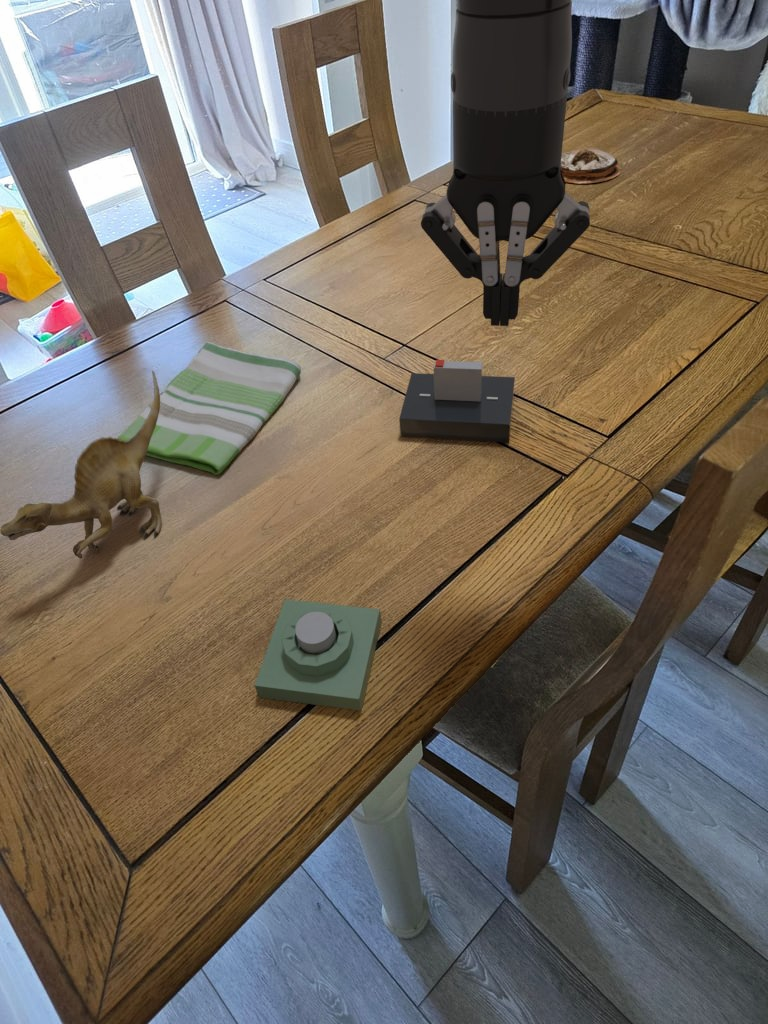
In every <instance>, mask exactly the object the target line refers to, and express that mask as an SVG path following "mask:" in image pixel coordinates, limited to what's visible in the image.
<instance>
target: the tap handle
mask: <svg viewBox="0 0 768 1024" xmlns="http://www.w3.org/2000/svg"><path fill="white" fill-rule="evenodd" d="M483 364H484V363H483V362H482V361H463V360H462V361H461V360H459V361H458V360H445V359H436V360H435V361H434V364H433V374H434V393H435V400H455V401H478V402H481V397H482V376H483V367H484V365H483Z"/></svg>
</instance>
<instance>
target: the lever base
mask: <svg viewBox="0 0 768 1024" xmlns="http://www.w3.org/2000/svg"><path fill="white" fill-rule="evenodd" d="M515 380H516V377H515V376H497V375H496V376H494V375H492V376H491V375H482V397H481V402H478V401H455V400H435V393H434V373H422V372H421V373H417V372H411V374H410V377H409V381H408V384H407V389H406V392H405V395H404V399H403V403H402V407H401V410H400V415H399V418H398V419H399V421H398V422H399V431H400V437H403V438H416V439H417V438H419V439H435V440H436V439H437V440H452V441H453V440H454V441H455V440H456V441H468V442H469V441H470V442H472V441H473V442H487V443H503V444H504V443H507V444H508V443H510V438H511V436H510V435H511V428H512V427H511V426H512V417H513V407H514V398H515V397H514V395H515V382H516V381H515Z"/></svg>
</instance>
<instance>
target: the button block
mask: <svg viewBox="0 0 768 1024" xmlns="http://www.w3.org/2000/svg"><path fill="white" fill-rule="evenodd" d="M311 612H323V613H325V614H327V615H328V616H330V618H331V619H332V621H333V624H334V628H335V632H336V639H335V642H334V644H333V645H332V647H331V648H330V649H328V650H327V651H325V652H323V653H320V654H310V653H307V652H305V651H304V650H303V649H302V648H301V647H300V646H299V643H298V640H297V636H296V633H295V627H296V624H297V622H298V621H299V619H300V618H301V617H302V616H304V615H306V614H308V613H311ZM382 623H383V620H382V614H381V609H379V608H371V607H361V606H352V605H342V604H333V603H326V602H325V603H324V602H316V601H315V602H314V601H304V600H295V599H286V598H285V599H284V600H283V602H282V606H281V608H280V611H279V614H278V617H277V620H276V622H275V625H274V628H273V631H272V634H271V637H270V639H269V642H268V645H267V648H266V651H265V654H264V657H263V660H262V662H261V665H260V668H259V671H258V674H257V676H256V679H255V682H254V688H255V690H256V693H257V695H258V697H259V698H261V699H269V700H276V701H284V702H285V701H286V702H293V703H299V704H305V705H312V706H313V705H314V706H320V707H321V706H322V707H328V708H338V709H345V710H346V709H347V710H350V711H351V710H353V711H360V712H362V711H363V707H364V703H365V702H364V701H365V698H366V693H367V689H368V684H369V681H370V675H371V671H372V667H373V662H374V658H375V653H376V649H377V644H378V640H379V636H380V631H381V628H382Z"/></svg>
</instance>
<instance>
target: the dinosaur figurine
mask: <svg viewBox="0 0 768 1024" xmlns="http://www.w3.org/2000/svg"><path fill="white" fill-rule="evenodd" d="M151 376H152V383H153V400H152V401H153V405H152V408H151V411H150V413H149V415H148V417H147V418H146V420H145V422H144V424H143V425H142V427H141V428H140V429H139V431H138V432H137V433H136V434H135V435H134V436H133V438H130V439H129V440H128V441H123V440H118V437H113V436H107V437H104V436H101V437H99V438H96V439H94V440H93V441H91V442H90V443H88V445H87V446H86V447H85V448H84V449H83V450H82V451H81V452H80V454H79V455H78V456H77V458H76V463H75V465H74V475H73V479H74V481H75V483H74V491H73V496H72V497H71V498H69V499H67V500H66V501H63V502H57V503H56V502H55V503H54V502H39V503H26V504H24V505H23V506H20V507H19V508H18V510H17V513H16V515H15V516H14V517H13V518H12V519H11V520H10V521H8V522H6V523H4V524H3V525H1V526H0V534H1V536H3V537H7V538H8V539H9V541H15V540H18V538H21V537H24V536H26V535H29V534H35V533H40V532H43V531H45V530H46V528H47V527H51V526H64V525H69V524H76V523H83V522H84V533H85V536H84V539H82V540H79V541H78V542H77V543H76V544H75V545H73V547H72V552H73V554H74V556H75V557H77V558H78V559H83V554H82V552H84V550H85V549H86V548H87V547H88V549H89V550H90V551H91V552H93V553H97V552H99V551H100V548H99V545H98V544H96V545H95V544H94V543H96V542H98V541H100V540H103V539H104V538H105V537H107V536H108V535H110V534H111V533H112V531H113V525H112V524H113V518H112V514H111V510H112V509H113V508H115V507H116V506H117V507H116V510H120V509H121V510H120V511H119V514H118V515H119V516H122V515H123V514H126V513H127V516H131V515H132V514H133V513H134V512H135V511H136V509H138V508H148V509H149V510H150V518H149V519H148V520H147V521H146V522H144V523H143V524H142V525H141V526H140V528H139V530H138V533H142V532H144V534H143V536H142V538H143V539H145V538H147V537H148V536H149V535H150V534H151V533H152V532H153V531H154V533H153V537H154V538H156V537H157V535H158V534H160V531H161V528H162V524H163V522H162V514H161V510H160V509H161V508H160V503H159V501H158V499H157V498H155V497H151V496H149V495H147V494H143V491H142V479H141V473H140V471H141V468H142V465H143V463H144V461H145V457H146V456H147V455H146V452H147V450H148V446H149V443H150V440H151V437H152V434H153V432H154V429H155V426H156V423H157V419H158V415H159V410H160V394H161V393H160V388H159V384H158V380H157V379H158V378H157V376H156V373H155V370H151ZM123 500H125V501H123ZM121 501H123V502H121ZM120 502H121V503H120ZM119 503H120V504H119ZM95 519H96V520H98V522H99V524H100V527H99V528H97V529H96V530H95V531H94V525H95Z"/></svg>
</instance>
